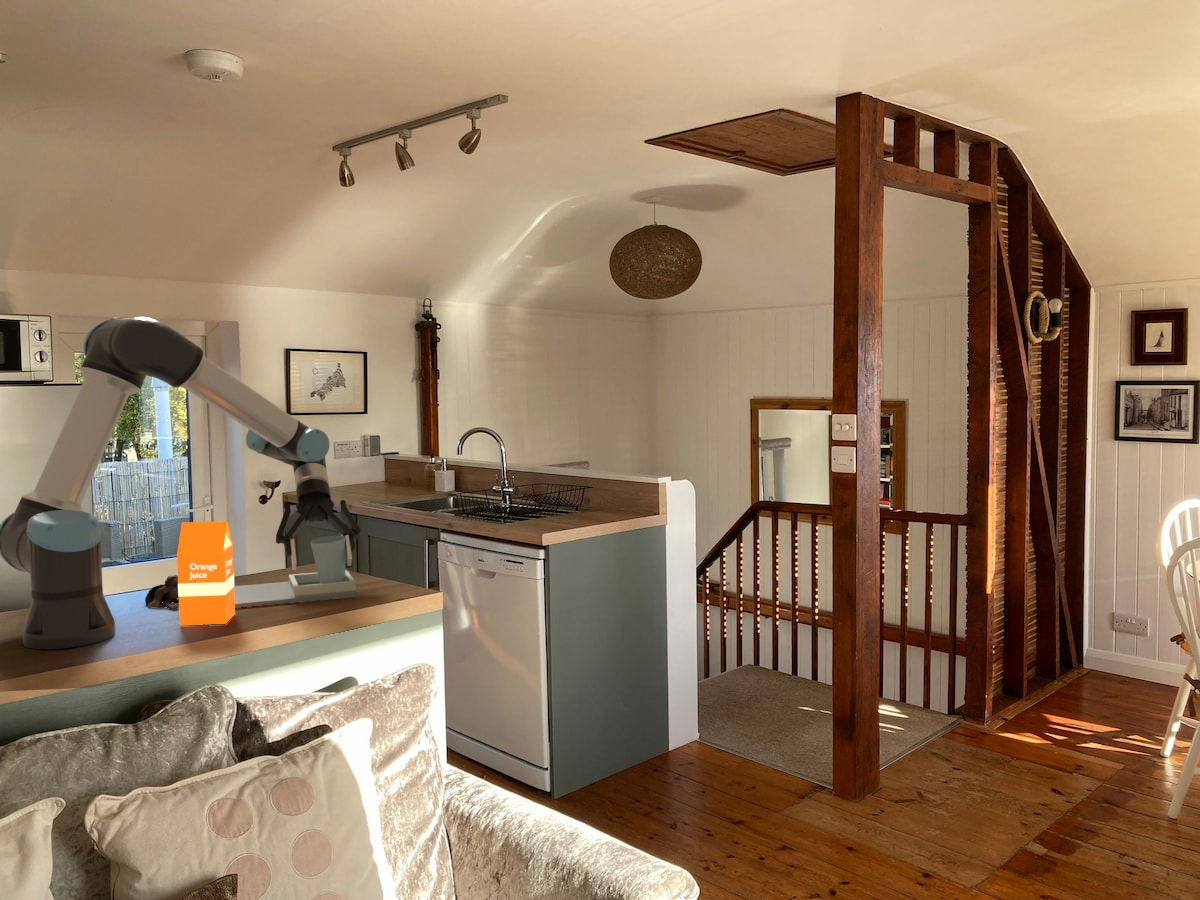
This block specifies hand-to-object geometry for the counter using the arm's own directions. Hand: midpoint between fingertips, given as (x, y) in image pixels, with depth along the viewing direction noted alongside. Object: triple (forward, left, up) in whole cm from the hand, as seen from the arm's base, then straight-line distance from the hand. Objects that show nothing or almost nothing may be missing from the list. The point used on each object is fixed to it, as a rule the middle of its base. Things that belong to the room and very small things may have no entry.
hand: (322, 564), depth 211 cm
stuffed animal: (-30, +6, -7) cm, 32 cm away
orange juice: (-24, -13, -7) cm, 28 cm away
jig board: (-6, +3, -7) cm, 9 cm away
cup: (+3, +4, -6) cm, 7 cm away
